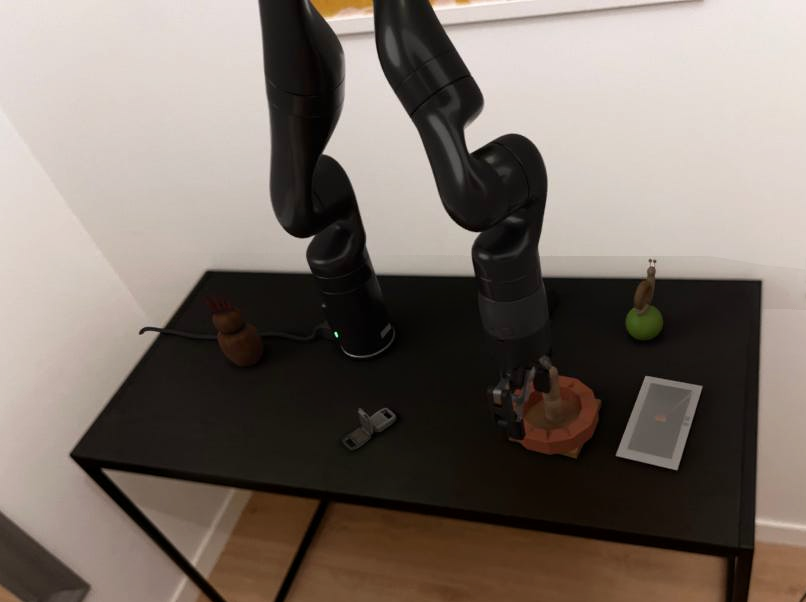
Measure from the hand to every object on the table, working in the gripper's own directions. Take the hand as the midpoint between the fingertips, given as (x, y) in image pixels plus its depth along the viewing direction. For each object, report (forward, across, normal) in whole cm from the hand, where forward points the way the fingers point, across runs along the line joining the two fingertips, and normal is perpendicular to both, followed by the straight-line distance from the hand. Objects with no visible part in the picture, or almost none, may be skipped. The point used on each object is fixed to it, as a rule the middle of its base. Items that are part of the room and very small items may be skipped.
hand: (530, 413), depth 90 cm
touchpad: (+9, -11, +14) cm, 19 cm away
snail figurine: (+9, -28, +6) cm, 30 cm away
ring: (+8, -6, 0) cm, 10 cm away
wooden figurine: (+9, -4, -56) cm, 56 cm away
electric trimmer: (+9, -24, -12) cm, 28 cm away
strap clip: (+9, +3, -26) cm, 27 cm away
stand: (+9, -7, 0) cm, 11 cm away
